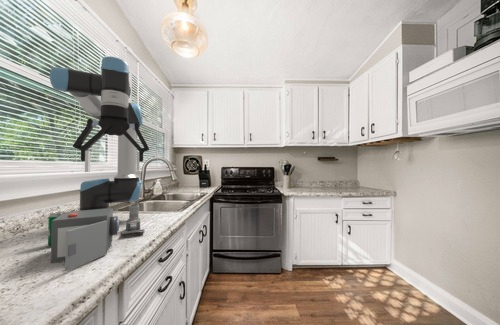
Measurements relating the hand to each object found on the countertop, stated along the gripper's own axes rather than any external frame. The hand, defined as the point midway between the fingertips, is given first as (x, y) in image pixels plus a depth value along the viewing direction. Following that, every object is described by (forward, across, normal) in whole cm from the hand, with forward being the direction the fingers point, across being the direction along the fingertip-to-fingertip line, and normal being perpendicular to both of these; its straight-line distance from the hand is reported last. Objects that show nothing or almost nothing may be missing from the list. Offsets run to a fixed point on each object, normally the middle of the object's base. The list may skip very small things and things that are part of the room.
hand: (113, 171), depth 65 cm
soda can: (+28, -20, +24) cm, 42 cm away
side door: (+28, -6, 0) cm, 28 cm away
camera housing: (+28, -8, +12) cm, 32 cm away
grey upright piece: (+28, +5, +27) cm, 40 cm away
